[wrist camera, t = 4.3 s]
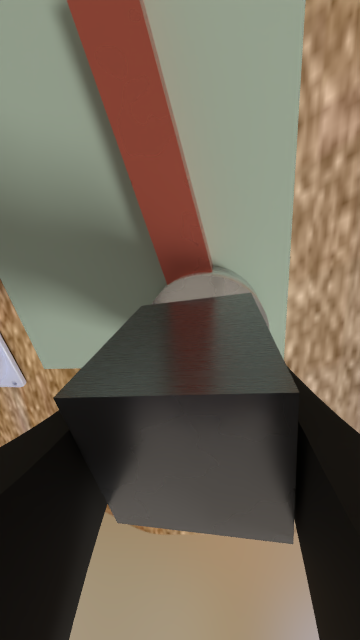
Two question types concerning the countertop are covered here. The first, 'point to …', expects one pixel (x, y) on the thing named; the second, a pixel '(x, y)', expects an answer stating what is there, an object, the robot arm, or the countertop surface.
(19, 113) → the mat
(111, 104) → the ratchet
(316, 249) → the countertop surface
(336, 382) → the countertop surface
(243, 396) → the brushed grey square block
